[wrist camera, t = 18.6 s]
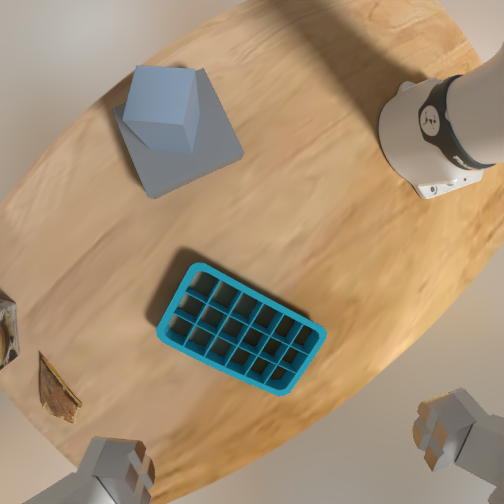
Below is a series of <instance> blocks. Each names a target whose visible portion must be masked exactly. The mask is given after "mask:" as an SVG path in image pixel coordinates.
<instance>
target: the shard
mask: <svg viewBox="0 0 504 504" xmlns="http://www.w3.org/2000/svg"><path fill="white" fill-rule="evenodd" d="M40 358H41V365H40V366H41V380H40V384H41V387H40V390H41V400H42V407H43V408H44V409H45V410H46V411H47V412H49V413H50V414H52V415H54V416H56V417H59V418H61V419H64V420H66V421H68V422H70V423H76V414H77V411H78V409H79V408H80V407H82V403H81V402H80V401H79V400H78V399H77V398H76V397H75V396H74V395H73V394H72V392H70V390H69V389H68V387H67V386H66V385H65V383H64V381H63V380H62V379H61V377H60V376H59V375H58V373H57V372H56V370H55V369H54V368H53V366H52V365H51V364H50V363H49V362H48V360H47V359H46V358H44V357H42V356H40Z"/></svg>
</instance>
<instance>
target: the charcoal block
mask: <svg viewBox="0 0 504 504" xmlns="http://www.w3.org/2000/svg"><path fill="white" fill-rule="evenodd" d="M195 74H196V83H197V92H198V101H199V110H200V115H199V120H198V126H197V131H196V136H195V142H194V148H193V154H191V153H182V152H173V151H164V150H154V149H149V148H148V146H147V145H146V144H145V143H144V142H143V141H142V140H141V139H140V138H139V137H138V136H137V135H136V134H135V133H134V132H133V131H132V130H131V129H130V128H129V127H128V125H127V124H126V123H125V122H124V121H123V115H124V111H125V107H126V103H127V102H126V103H124V104H122V105H120V106H119V107H117V108H115V109H113V113H114V116H115V118H116V121H117V123H118V126H119V129H120V131H121V134H122V136H123V139H124V141H125V144H126V146H127V149H128V151H129V154H130V156H131V158H132V161H133V163H134V166H135V168H136V171H137V173H138V175H139V178H140V180H141V182H142V185H143V187H144V189H145V192H146V194H147V196H148V198H153V199H157V198H159V197H161V196H163V195H165V194H167V193H169V192H171V191H173V190H175V189H177V188H179V187H181V186H183V185H186V184H188V183H190V182H192V181H194V180H196V179H198V178H201V177H203V176H205V175H207V174H209V173H212V172H214V171H216V170H218V169H221V168H223V167H225V166H227V165H230V164H232V163H234V162H237V161H239V160H241V159H242V157H243V154H244V151H243V149H242V147H241V145H240V143H239V141H238V139H237V136H236V134H235V132H234V130H233V128H232V126H231V124H230V122H229V119H228V117H227V115H226V113H225V111H224V109H223V107H222V105H221V103H220V101H219V99H218V97H217V94H216V92H215V90H214V88H213V86H212V84H211V82H210V80H209V78H208V76H207V74H206V72H205V70H204V68H202V69H200V70H197V71H195Z"/></svg>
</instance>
